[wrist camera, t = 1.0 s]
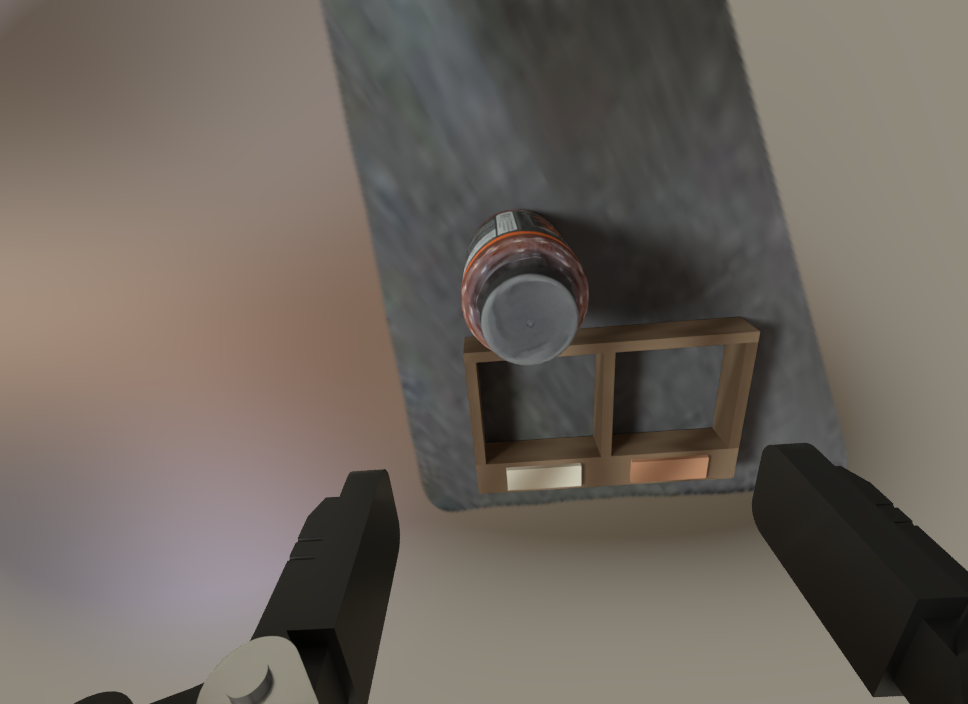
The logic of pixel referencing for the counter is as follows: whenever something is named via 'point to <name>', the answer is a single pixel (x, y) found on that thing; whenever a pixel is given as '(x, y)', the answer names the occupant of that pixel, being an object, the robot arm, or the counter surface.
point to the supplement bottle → (523, 288)
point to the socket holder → (605, 452)
